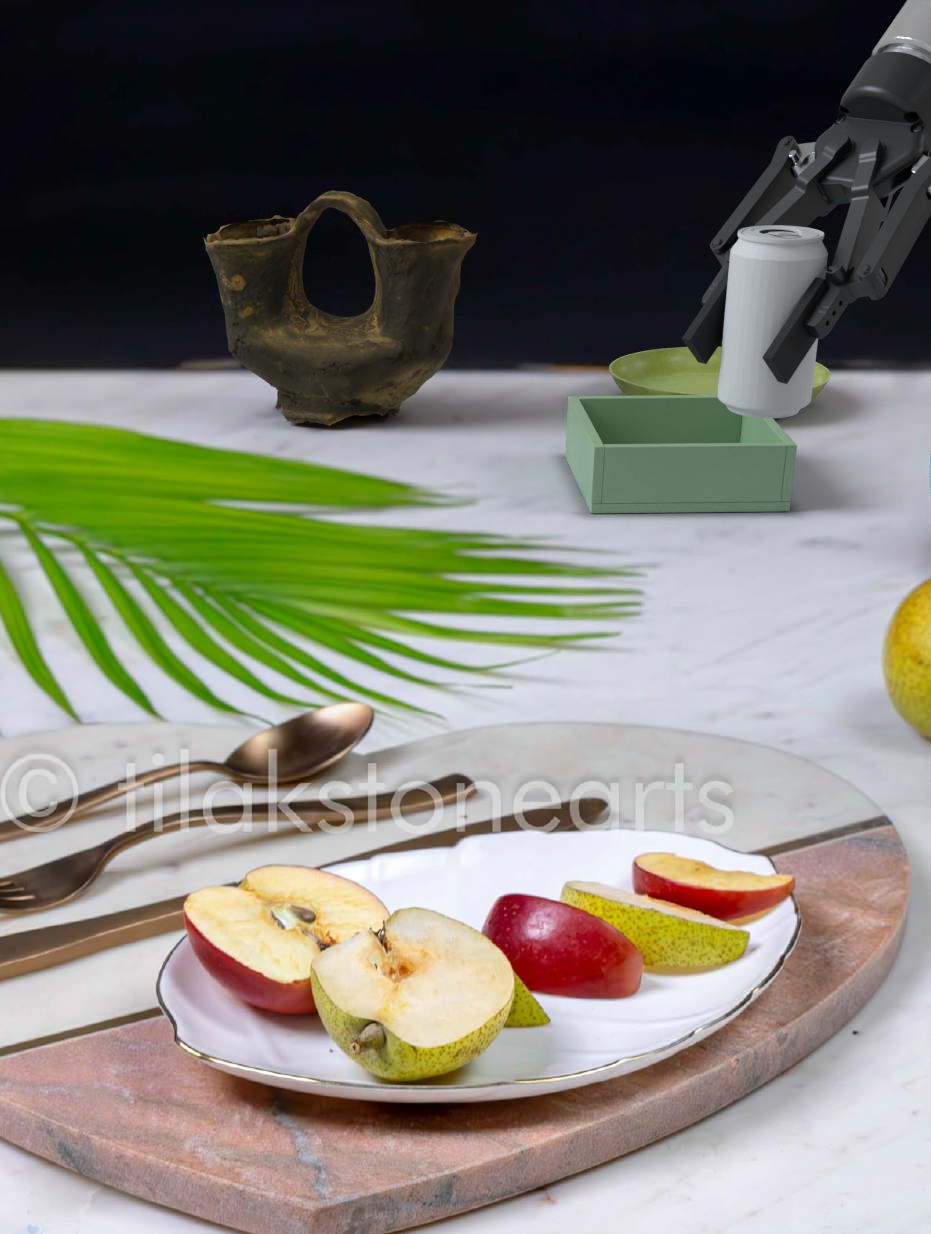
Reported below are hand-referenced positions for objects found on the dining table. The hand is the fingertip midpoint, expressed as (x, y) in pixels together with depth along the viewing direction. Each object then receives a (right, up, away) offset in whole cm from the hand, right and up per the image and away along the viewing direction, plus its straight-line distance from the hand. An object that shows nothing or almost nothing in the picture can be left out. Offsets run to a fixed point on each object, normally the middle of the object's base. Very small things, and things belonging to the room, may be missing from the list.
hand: (733, 360), depth 115 cm
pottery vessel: (-27, +6, +44) cm, 52 cm away
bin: (0, -4, +24) cm, 25 cm away
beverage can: (+3, -3, +4) cm, 5 cm away
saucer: (+9, +8, +48) cm, 49 cm away
